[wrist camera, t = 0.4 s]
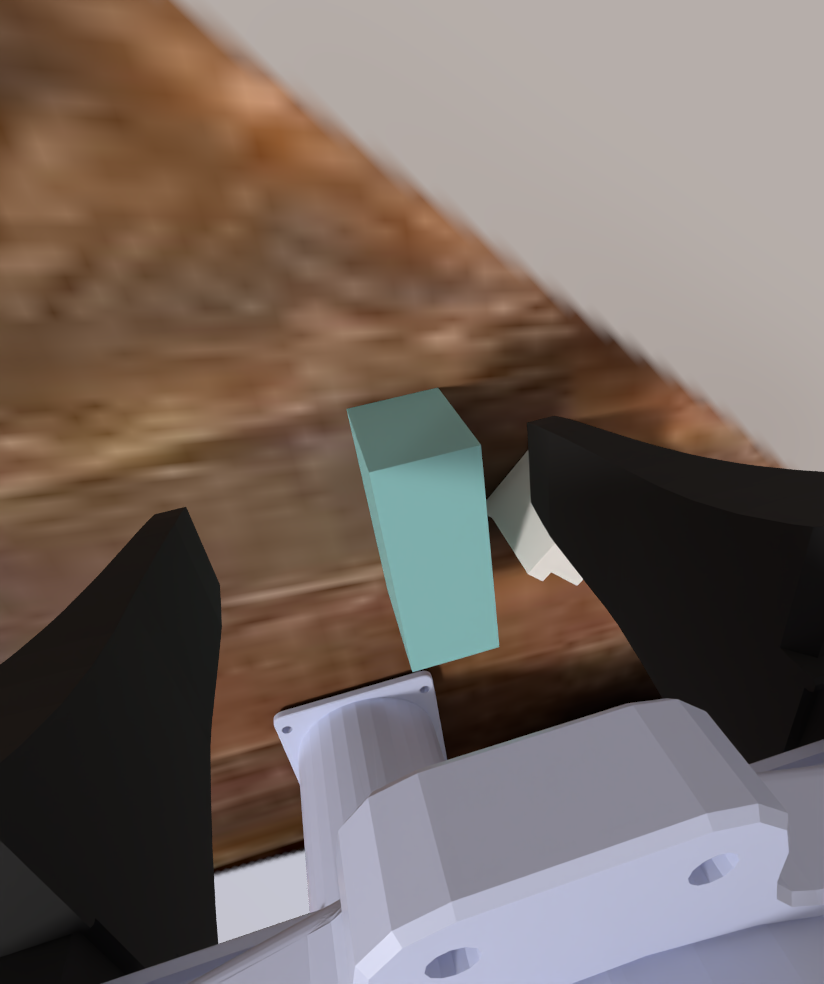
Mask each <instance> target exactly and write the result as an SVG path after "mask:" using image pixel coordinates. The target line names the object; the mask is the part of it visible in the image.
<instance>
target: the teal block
mask: <svg viewBox="0 0 824 984" xmlns="http://www.w3.org/2000/svg"><path fill="white" fill-rule="evenodd" d="M347 413H348V417H349V422H350V426H351V431H352V435H353V439H354V444H355V448H356V453H357V457H358V461H359V466H360V470H361V475H362V479H363V483H364V488H365V492H366V497H367V501H368V505H369V510H370V514H371V519H372V523H373V527H374V532H375V536H376V541H377V545H378V550H379V554H380V558H381V563H382V567H383V572H384V576H385V580H386V585H387V589H388V593H389V596H390V599H391V603H392V606H393V609H394V613H395V616H396V619H397V623H398V626H399V629H400V632H401V636H402V639H403V642H404V646H405V649H406V652H407V656H408V659H409V662H410V666H411V669H412V672H415V671H419V670H422V669H425V668H429V667H432V666H436V665H439V664H442V663H446V662H449V661H453V660H456V659H460V658H463V657H466V656H470V655H473V654H477V653H480V652H484V651H487V650H490V649H494V648H497V647H499V638H498V627H497V616H496V605H495V594H494V583H493V572H492V561H491V550H490V539H489V528H488V517H487V506H486V495H485V484H484V473H483V462H482V451H481V444H480V443H479V442H478V440H477V439H476V438H475V436H474V435H473V434H472V432H471V431H470V430H469V428H468V427H467V426H466V424H465V423H464V422H463V420H462V419H461V418H460V416H459V415H458V414H457V412H456V411H455V410H454V408H453V407H452V406H451V404H450V403H449V402H448V400H447V399H446V398H445V396H444V395H443V394H442V392H441V391H440V390H439V388H434V389H430V390H426V391H422V392H417V393H413V394H409V395H404V396H400V397H396V398H392V399H387V400H383V401H379V402H374V403H370V404H366V405H362V406H357V407H353V408H349V409H347Z"/></svg>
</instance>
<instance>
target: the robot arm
mask: <svg viewBox="0 0 824 984" xmlns="http://www.w3.org/2000/svg"><path fill="white" fill-rule="evenodd" d="M527 431H528V453H529V475H530V497H531V504H532V506H533V507H534V509H535V511H536V513H537V515H538V517H539V518H540V520H541V522H542V524H543V525H544V527H545V529H546V531H547V532H548V534H549V536H550V537H551V539H552V540H553V541H554V543H555V544H556V545H557V546H558V548H559V549H560V550H561V552H562V553H563V554H564V555H565V557H566V558H567V559H568V561H569V562H570V563H571V564H572V566H573V567H574V568H575V570H576V571H577V572H578V573H579V575H580V576H581V577H582V578H583V580H584V581H585V582H586V583H587V585H588V586H589V587H590V588H591V590H592V591H593V592H594V593H595V595H596V596H597V597H598V599H599V600H600V601H601V602H602V604H603V605H604V606H605V607H606V609H607V610H608V611H609V613H610V614H611V616H612V617H613V618H614V620H615V621H616V623H617V624H618V625H619V627H620V629H621V630H622V632H623V633H624V635H625V637H626V638H627V640H628V642H629V643H630V645H631V646H632V648H633V650H634V651H635V653H636V654H637V656H638V658H639V659H640V661H641V663H642V664H643V666H644V668H645V669H646V671H647V673H648V675H649V676H650V678H651V680H652V681H653V683H654V685H655V687H656V688H657V690H658V692H659V693H660V695H661V697H662V699H657V700H649V701H642V702H634V703H627V704H623V705H620V706H617V707H614V708H611V709H608V710H604V711H601V712H598V713H595V714H592V715H588V716H585V717H582V718H579V719H576V720H573V721H569V722H566V723H563V724H560V725H557V726H554V727H550V728H547V729H544V730H541V731H538V732H535V733H531V734H528V735H525V736H522V737H519V738H516V739H512V740H509V741H506V742H503V743H500V744H497V745H493V746H490V747H487V748H484V749H481V750H478V751H474V752H471V753H468V754H465V755H462V756H459V757H455V758H452V759H449V760H447V756H446V750H445V744H444V739H443V733H442V728H441V722H440V717H439V711H438V706H437V700H436V695H435V689H434V684H433V679H432V676H431V674H430V672H428V671H419V672H416V673H412V674H409V675H405V676H402V677H398V678H395V679H391V680H388V681H384V682H381V683H377V684H374V685H371V686H367V687H364V688H360V689H357V690H353V691H350V692H346V693H343V694H339V695H336V696H332V697H329V698H325V699H322V700H319V701H315V702H312V703H308V704H305V705H301V706H298V707H294V708H291V709H287V710H284V711H281V712H279V713H277V714H276V715H275V716H274V726H275V729H276V731H277V733H278V736H279V738H280V740H281V742H282V745H283V747H284V749H285V752H286V754H287V756H288V759H289V761H290V763H291V765H292V768H293V770H294V772H295V775H296V777H297V779H298V781H299V784H300V790H301V804H302V817H303V830H304V844H305V857H306V870H307V884H308V897H309V910H310V913H308V914H306V915H302V916H300V917H297V918H294V919H291V920H288V921H285V922H282V923H279V924H276V925H273V926H270V927H267V928H264V929H261V930H258V931H255V932H252V933H250V934H246V935H244V936H241V937H238V938H235V939H232V940H229V941H226V942H223V943H220V944H218V935H217V922H216V908H215V889H214V870H213V851H212V820H211V767H210V743H211V726H212V716H213V706H214V697H215V688H216V679H217V669H218V660H219V650H220V640H221V629H222V621H221V598H220V584H219V582H218V579H217V577H216V575H215V573H214V570H213V568H212V566H211V563H210V561H209V559H208V556H207V554H206V552H205V550H204V547H203V545H202V543H201V540H200V538H199V536H198V533H197V531H196V529H195V526H194V524H193V522H192V520H191V517H190V515H189V513H188V510H187V508H186V507H183V508H179V509H175V510H171V511H167V512H163V513H159V514H155V515H154V516H153V517H152V518H151V519H149V520H148V521H147V522H146V523H145V525H144V526H143V527H142V528H141V529H140V530H139V531H138V532H137V533H136V534H135V535H134V537H133V538H132V539H131V540H130V541H129V542H128V543H127V544H126V546H125V547H124V548H123V549H122V550H121V551H120V552H119V553H118V554H117V556H116V557H115V558H114V559H113V560H112V561H111V562H110V563H109V564H108V565H107V567H106V568H105V569H104V570H103V571H102V572H101V573H100V574H99V575H98V576H97V577H96V578H95V579H94V580H93V581H92V583H91V584H90V585H89V586H88V587H87V588H86V589H85V590H84V591H83V592H82V593H81V594H80V595H79V596H78V597H77V598H76V599H75V600H74V601H73V602H72V603H71V604H70V605H69V606H68V607H67V608H66V609H65V610H64V611H63V612H62V613H61V614H60V615H58V616H57V617H56V618H55V619H54V620H53V621H52V622H51V623H50V624H49V625H48V626H46V627H45V628H44V629H43V630H42V631H41V632H40V633H38V634H37V635H36V636H35V637H34V638H33V639H31V640H30V641H29V642H28V643H27V644H25V645H24V646H23V647H22V648H21V649H20V650H18V651H17V652H16V653H15V654H13V655H12V656H11V657H10V658H8V659H7V660H6V661H5V662H3V663H2V664H0V984H824V472H818V471H803V470H791V469H782V468H772V467H763V466H754V465H747V464H740V463H734V462H728V461H722V460H717V459H711V458H706V457H700V456H696V455H691V454H687V453H682V452H678V451H675V450H671V449H667V448H663V447H659V446H655V445H652V444H648V443H645V442H641V441H638V440H634V439H631V438H628V437H624V436H621V435H618V434H615V433H612V432H609V431H605V430H602V429H599V428H596V427H593V426H590V425H587V424H583V423H580V422H577V421H573V420H570V419H566V418H562V417H557V416H552V417H548V418H544V419H540V420H536V421H532V422H528V423H527ZM423 686H424V687H423ZM286 726H288V727H286Z"/></svg>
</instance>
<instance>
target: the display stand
mask: <svg viewBox="0 0 824 984" xmlns="http://www.w3.org/2000/svg"><path fill="white" fill-rule="evenodd" d="M486 506H487V515H488V516H489V517H491V518H492V519H493V520H494V522H495V523H496V525H497V526H498V528H499V530H500V531H501V533H502V534H503V536H504V537H505V539H506V540H507V542H508V544H509V545H510V547H511V548H512V550H513V551H514V553H515V555H516V556H517V558H518V559H519V561H520V562H521V564H522V565H523V567H524V569H525V570H526V572H527V573H528V574H529V575H531V576H533V577H535V578H537V579H539V580H541V581H544V579H545V578H546V577H547V576H548V575H549V574H550V573H551V572H552V573H554V574H556V575H558V576H560V577H561V578H563V579H565V580H567V581H569V582H571V583H573V584H575V585H578V584H579V583H580V582H581V581H582V580H583V578H582V577H581V576H580V575H579V573H578V572H577V571H576V570H575V568H574V567H573V566H572V564H571V563H570V562H569V561H568V559H567V558H566V557H565V555H564V554H563V553H562V552H561V550H560V549H559V548H558V546H557V545H556V544H555V543H554V541H553V540H552V539H551V537H550V536H549V534H548V532H547V531H546V529H545V527H544V525H543V524H542V522H541V520H540V518H539V517H538V515H537V513H536V511H535V509H534V507H533V506H532V504H531V497H530V475H529V453H528V451H527V452H526V453H525V454H524V456H523V457H522V458H521V459H520V460H519V462H518V463H517V464H516V465H515V466H514V468H513V469H512V470H511V471H510V473H509V474H508V475H507V476H506V477H505V479H504V480H503V481H502V482H501V483H500V485H499V486H498V487H497V488H496V489H495V491H494V492H493V493H492V494H491V495H490V497H489V498H488V499H487V500H486Z"/></svg>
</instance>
